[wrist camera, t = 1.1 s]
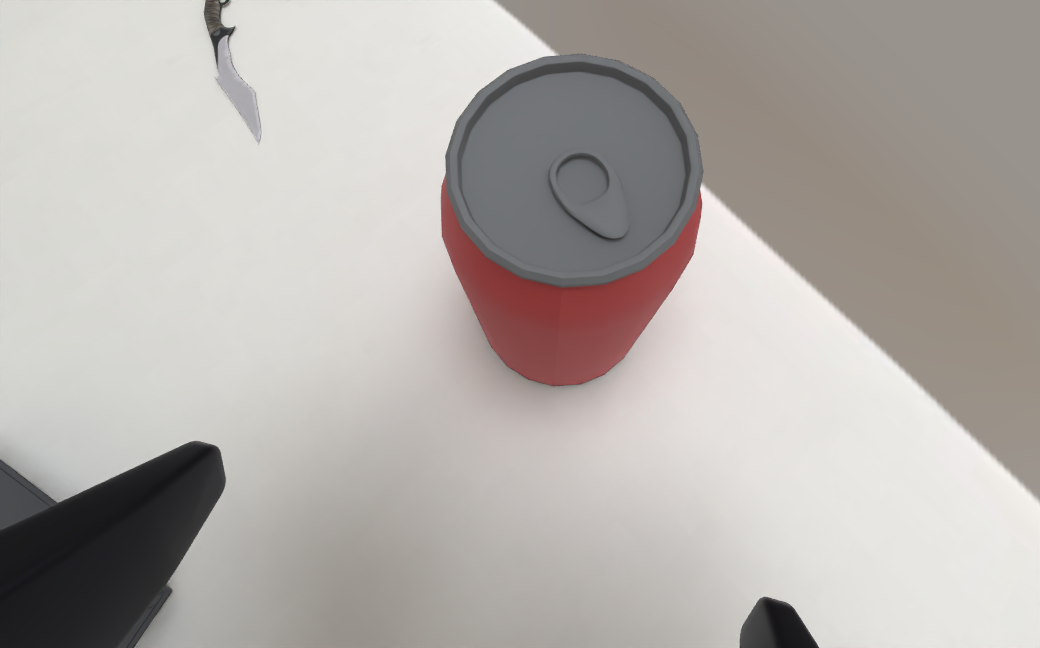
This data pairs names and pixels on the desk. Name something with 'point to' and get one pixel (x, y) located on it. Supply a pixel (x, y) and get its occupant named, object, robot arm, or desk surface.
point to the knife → (230, 69)
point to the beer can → (570, 211)
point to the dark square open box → (13, 499)
